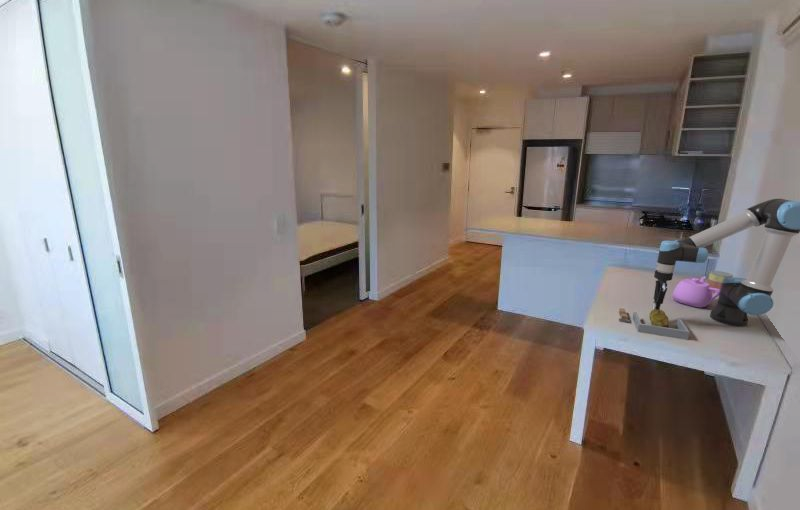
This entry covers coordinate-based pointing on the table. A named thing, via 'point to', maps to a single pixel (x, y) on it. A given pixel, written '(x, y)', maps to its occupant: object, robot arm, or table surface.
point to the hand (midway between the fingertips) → (655, 314)
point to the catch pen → (662, 329)
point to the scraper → (623, 316)
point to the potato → (659, 318)
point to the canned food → (717, 279)
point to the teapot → (694, 292)
